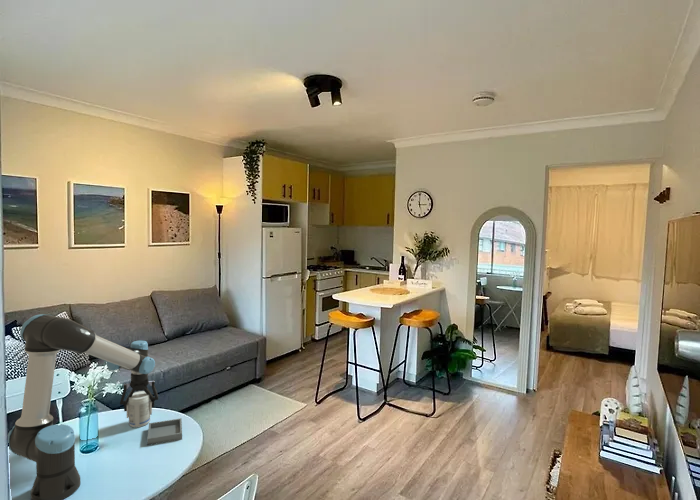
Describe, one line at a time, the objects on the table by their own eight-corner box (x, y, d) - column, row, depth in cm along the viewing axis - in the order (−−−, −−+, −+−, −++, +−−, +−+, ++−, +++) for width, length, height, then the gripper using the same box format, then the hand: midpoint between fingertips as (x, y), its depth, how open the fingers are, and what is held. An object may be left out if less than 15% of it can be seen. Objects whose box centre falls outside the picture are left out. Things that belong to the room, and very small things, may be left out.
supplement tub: (151, 417, 206) (151, 389, 205) (149, 426, 197) (149, 397, 196) (130, 419, 202) (130, 391, 201) (126, 429, 194) (126, 400, 192)
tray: (147, 445, 181) (147, 438, 181) (149, 429, 195) (149, 423, 194) (182, 439, 187) (182, 433, 187) (181, 423, 201) (181, 418, 200)
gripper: (112, 377, 190) (112, 422, 191) (163, 372, 199) (163, 415, 201) (114, 371, 196) (114, 415, 198) (164, 366, 205) (164, 408, 207)
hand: (139, 415), depth 199 cm, fingers closed on supplement tub, 10 cm apart
